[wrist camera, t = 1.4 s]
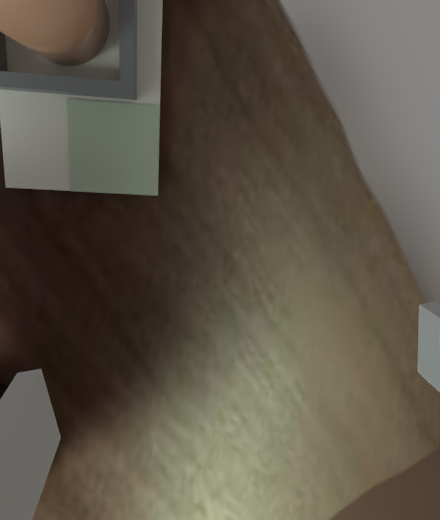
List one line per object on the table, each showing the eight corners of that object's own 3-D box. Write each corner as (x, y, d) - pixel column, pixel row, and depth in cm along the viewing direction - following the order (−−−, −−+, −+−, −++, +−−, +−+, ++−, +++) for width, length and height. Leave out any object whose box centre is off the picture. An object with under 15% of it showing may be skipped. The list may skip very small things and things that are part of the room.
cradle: (-6, 88, 31) (-21, 84, 28) (-19, -77, 28) (-37, -97, 25) (136, 100, 32) (133, 97, 30) (137, -57, 29) (134, -74, 27)
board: (10, 186, 34) (4, 187, 33) (-10, -74, 29) (-17, -83, 28) (158, 193, 35) (157, 195, 34) (164, -53, 30) (163, -60, 29)
